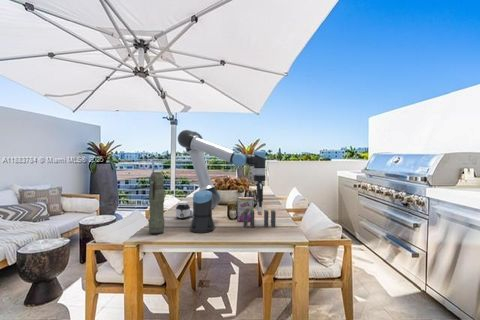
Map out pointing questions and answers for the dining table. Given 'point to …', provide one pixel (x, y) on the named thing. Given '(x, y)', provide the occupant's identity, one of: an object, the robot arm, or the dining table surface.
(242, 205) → the candy bar box
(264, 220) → the domino
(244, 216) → the domino
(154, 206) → the thermos
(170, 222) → the dining table surface
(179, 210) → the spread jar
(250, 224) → the domino
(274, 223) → the domino
